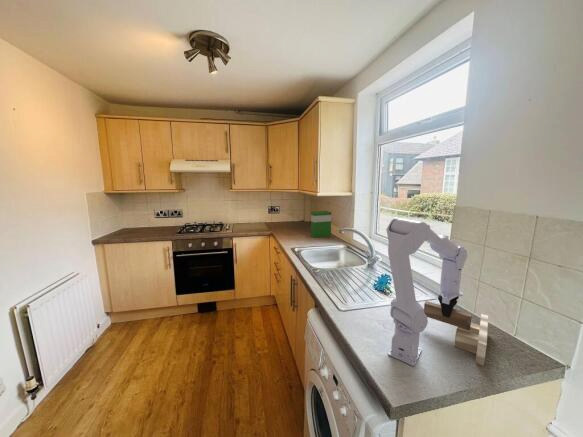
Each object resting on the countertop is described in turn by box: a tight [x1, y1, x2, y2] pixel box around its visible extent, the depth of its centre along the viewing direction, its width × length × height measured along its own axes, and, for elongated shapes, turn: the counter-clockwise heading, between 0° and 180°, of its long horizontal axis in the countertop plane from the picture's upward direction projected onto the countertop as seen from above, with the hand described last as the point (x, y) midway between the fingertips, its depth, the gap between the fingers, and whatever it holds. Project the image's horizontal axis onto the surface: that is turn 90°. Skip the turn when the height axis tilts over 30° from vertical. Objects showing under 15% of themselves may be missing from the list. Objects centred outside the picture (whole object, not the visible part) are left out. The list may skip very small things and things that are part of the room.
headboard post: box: [454, 313, 489, 367], centre depth 83 cm, size 20×8×7 cm, turn 141°
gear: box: [373, 273, 393, 294], centre depth 124 cm, size 11×6×10 cm
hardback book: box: [310, 210, 332, 239], centre depth 235 cm, size 18×7×24 cm, turn 108°
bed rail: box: [423, 300, 473, 330], centre depth 87 cm, size 3×14×5 cm, turn 50°
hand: (446, 314), depth 87 cm, fingers closed on bed rail, 2 cm apart
